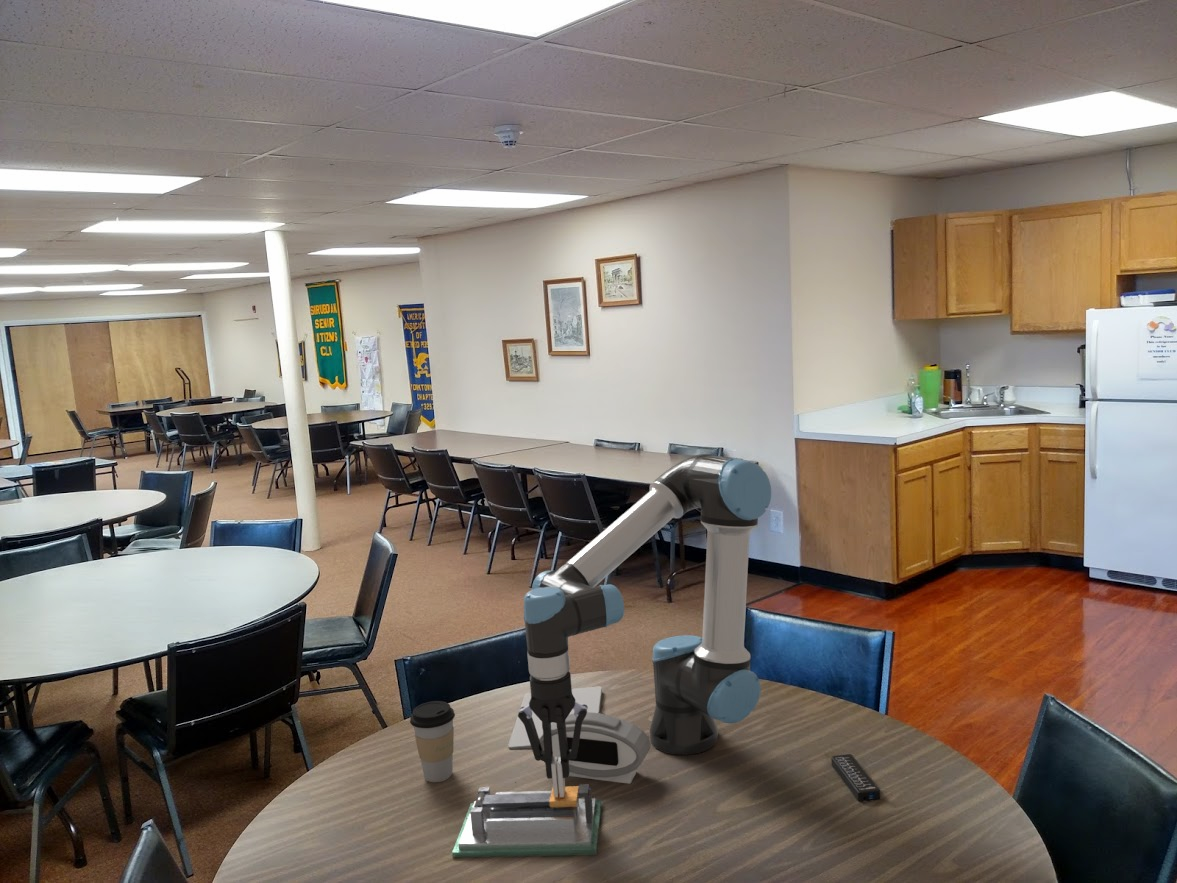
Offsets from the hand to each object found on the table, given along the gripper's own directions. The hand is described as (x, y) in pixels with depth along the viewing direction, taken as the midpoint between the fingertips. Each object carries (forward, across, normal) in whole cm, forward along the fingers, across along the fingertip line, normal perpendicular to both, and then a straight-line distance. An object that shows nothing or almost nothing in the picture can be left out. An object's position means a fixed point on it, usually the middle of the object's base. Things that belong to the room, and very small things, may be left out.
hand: (559, 793), depth 161 cm
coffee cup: (+7, +29, -21) cm, 37 cm away
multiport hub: (+8, -57, -14) cm, 59 cm away
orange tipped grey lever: (+2, +6, 0) cm, 7 cm away
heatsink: (+7, +6, 0) cm, 10 cm away
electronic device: (+8, +6, -46) cm, 47 cm away
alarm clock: (+8, -5, -20) cm, 22 cm away
